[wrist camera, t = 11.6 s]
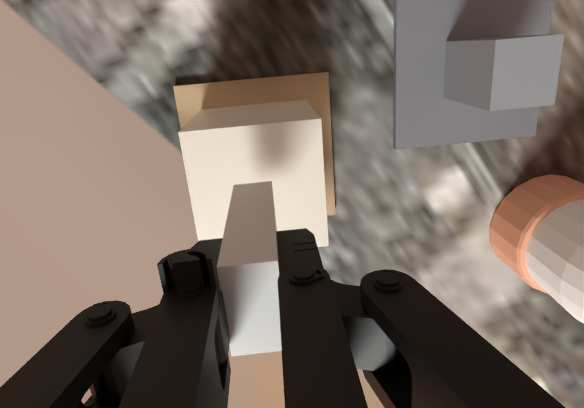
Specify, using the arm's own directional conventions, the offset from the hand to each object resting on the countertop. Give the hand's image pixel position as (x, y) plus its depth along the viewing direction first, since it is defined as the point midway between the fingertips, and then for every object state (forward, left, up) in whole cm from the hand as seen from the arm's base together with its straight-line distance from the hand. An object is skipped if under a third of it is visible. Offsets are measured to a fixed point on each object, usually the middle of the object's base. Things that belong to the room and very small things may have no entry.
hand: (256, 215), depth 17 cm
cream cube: (0, 0, -10) cm, 10 cm away
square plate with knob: (-4, +13, -10) cm, 17 cm away
